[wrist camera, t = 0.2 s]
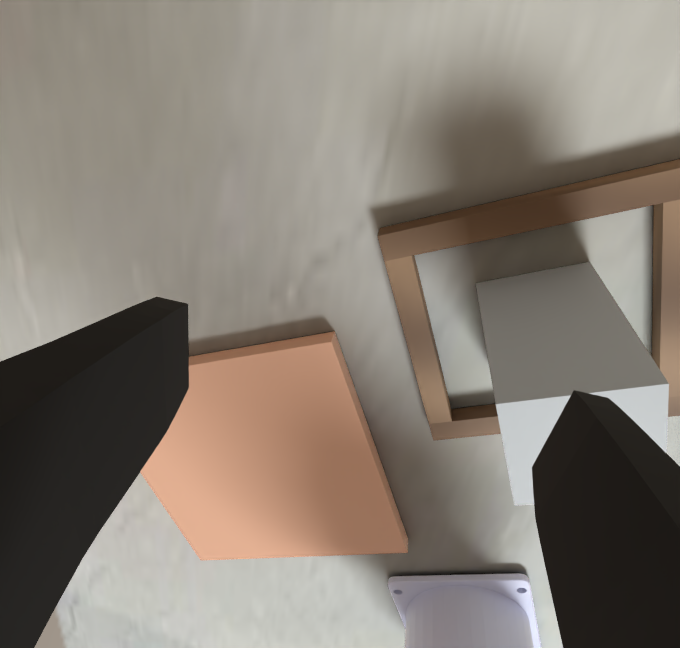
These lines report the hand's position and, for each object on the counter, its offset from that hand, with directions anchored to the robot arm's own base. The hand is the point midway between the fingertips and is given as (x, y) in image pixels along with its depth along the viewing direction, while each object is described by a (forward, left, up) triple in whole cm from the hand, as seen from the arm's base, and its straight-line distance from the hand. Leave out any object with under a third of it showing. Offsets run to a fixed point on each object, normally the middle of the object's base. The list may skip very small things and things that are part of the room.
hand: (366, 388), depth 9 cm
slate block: (-5, -4, -10) cm, 12 cm away
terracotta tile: (-11, +10, -10) cm, 18 cm away
